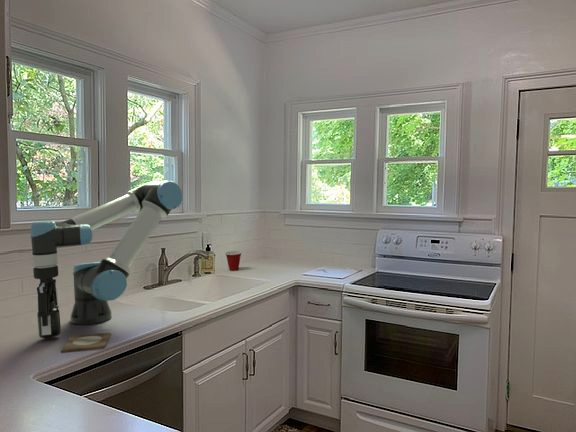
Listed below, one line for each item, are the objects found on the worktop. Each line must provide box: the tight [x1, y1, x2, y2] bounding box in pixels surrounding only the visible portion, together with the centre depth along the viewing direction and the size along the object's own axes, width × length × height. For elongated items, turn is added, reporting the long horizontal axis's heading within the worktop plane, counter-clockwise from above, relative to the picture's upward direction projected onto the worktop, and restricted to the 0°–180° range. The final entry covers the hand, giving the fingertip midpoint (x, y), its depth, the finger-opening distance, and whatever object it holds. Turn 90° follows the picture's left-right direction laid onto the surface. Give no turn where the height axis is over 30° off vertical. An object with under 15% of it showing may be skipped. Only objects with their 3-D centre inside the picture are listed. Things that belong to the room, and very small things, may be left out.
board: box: [60, 332, 112, 353], centre depth 148 cm, size 14×13×1 cm
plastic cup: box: [224, 250, 242, 272], centre depth 283 cm, size 11×11×12 cm
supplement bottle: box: [36, 300, 62, 339], centre depth 153 cm, size 7×7×12 cm
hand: (49, 330), depth 153 cm, fingers closed on supplement bottle, 7 cm apart
